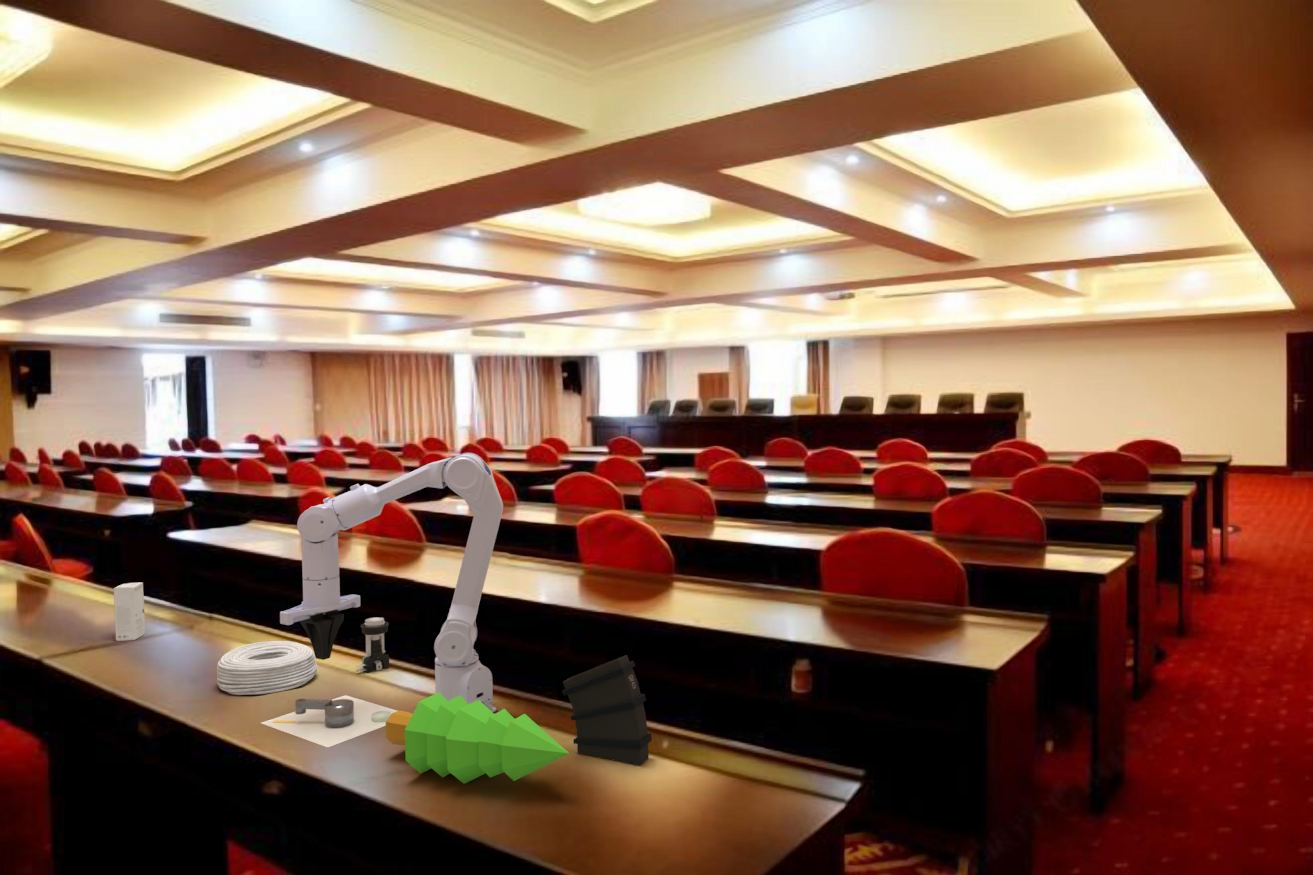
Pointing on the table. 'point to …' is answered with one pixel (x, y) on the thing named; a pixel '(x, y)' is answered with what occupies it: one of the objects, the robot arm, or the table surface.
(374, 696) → the table surface
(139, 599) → the skincare box
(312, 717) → the white paper sheet
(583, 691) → the magazine
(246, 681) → the cable
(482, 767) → the decorative tree
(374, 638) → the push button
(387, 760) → the table surface
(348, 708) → the grey crank handle
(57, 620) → the table surface
